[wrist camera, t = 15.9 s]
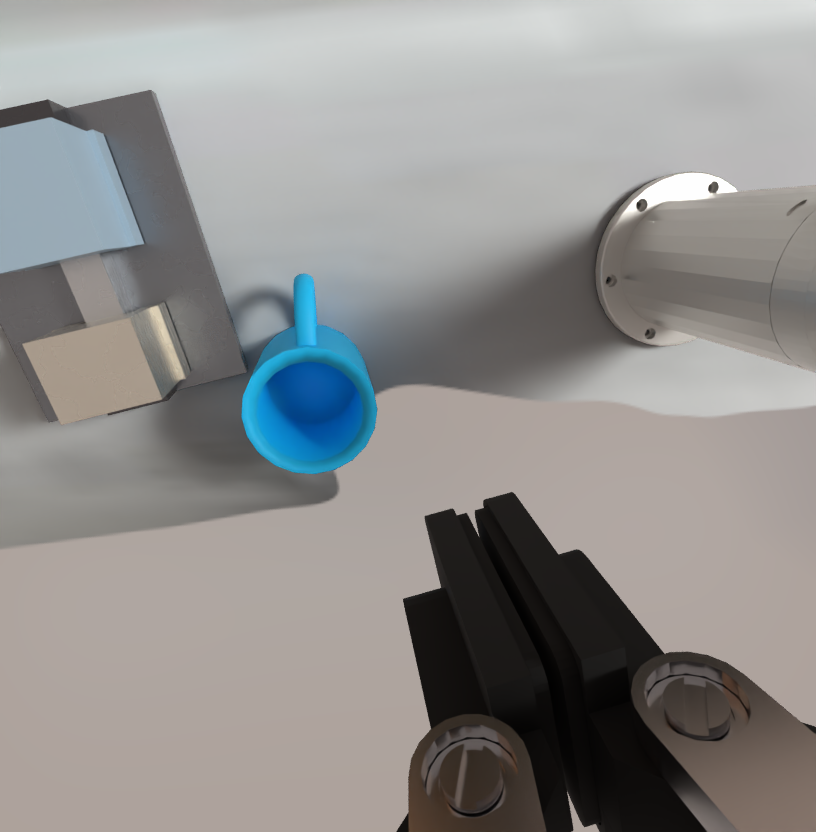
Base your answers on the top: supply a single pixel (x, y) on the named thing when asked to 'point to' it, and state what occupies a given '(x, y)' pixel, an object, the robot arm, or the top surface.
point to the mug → (309, 394)
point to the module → (59, 196)
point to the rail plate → (123, 285)
